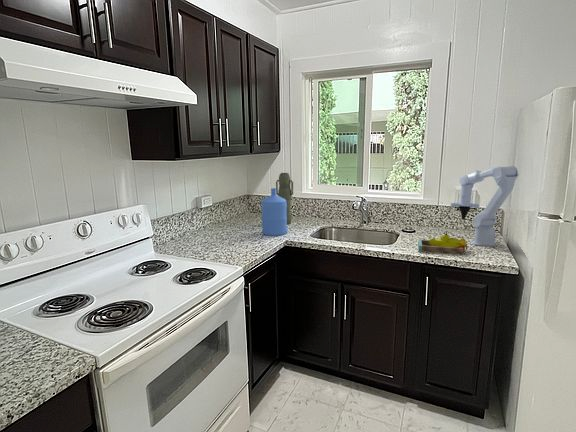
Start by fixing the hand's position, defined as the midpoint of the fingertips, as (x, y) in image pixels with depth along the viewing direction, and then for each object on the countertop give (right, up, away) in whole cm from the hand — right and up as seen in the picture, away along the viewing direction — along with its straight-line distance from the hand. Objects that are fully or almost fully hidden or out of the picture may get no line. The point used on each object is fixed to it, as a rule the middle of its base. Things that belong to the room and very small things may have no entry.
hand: (463, 219), depth 203 cm
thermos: (-103, -3, +43) cm, 111 cm away
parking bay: (-22, -16, -21) cm, 34 cm away
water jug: (-109, -9, +18) cm, 111 cm away
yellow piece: (-18, -16, -20) cm, 32 cm away
